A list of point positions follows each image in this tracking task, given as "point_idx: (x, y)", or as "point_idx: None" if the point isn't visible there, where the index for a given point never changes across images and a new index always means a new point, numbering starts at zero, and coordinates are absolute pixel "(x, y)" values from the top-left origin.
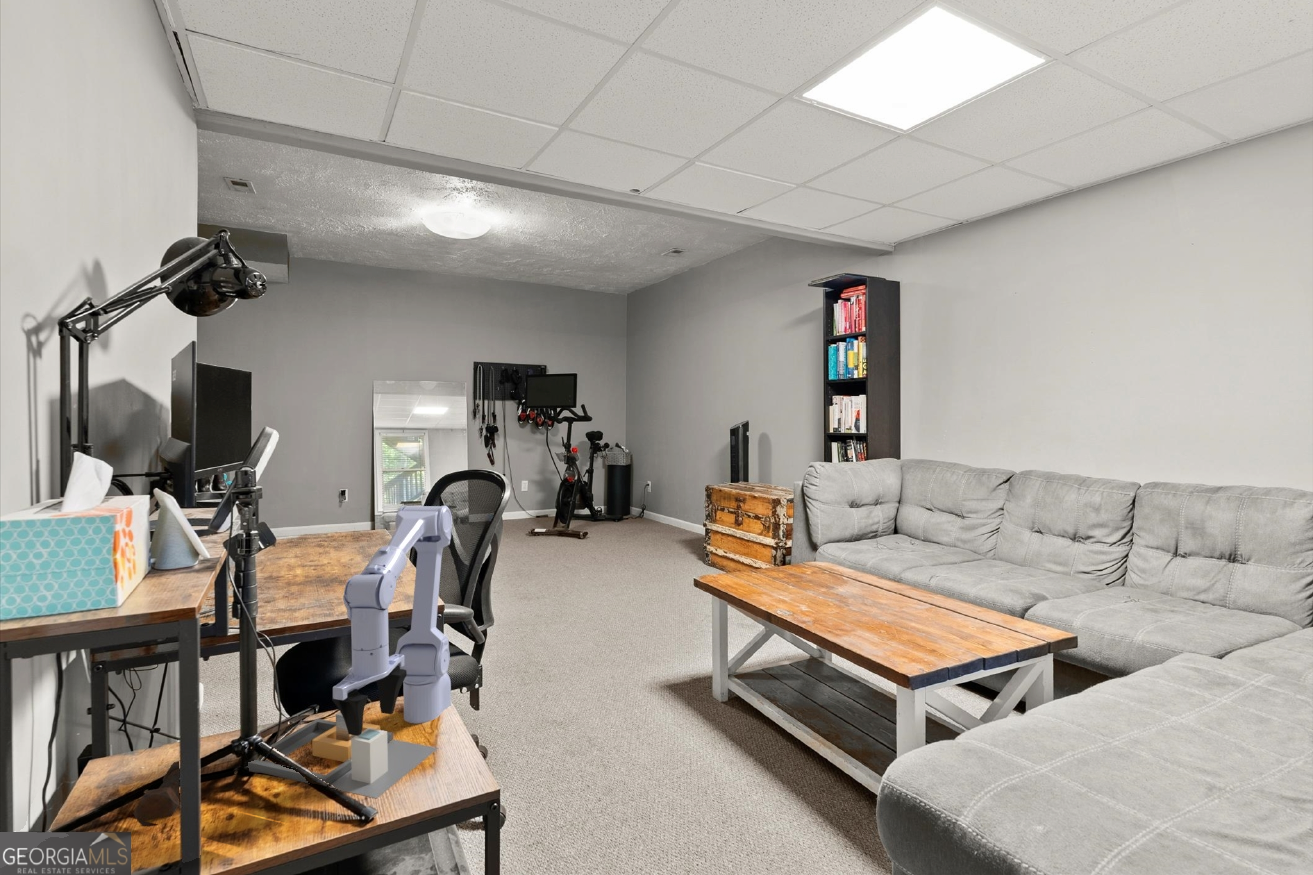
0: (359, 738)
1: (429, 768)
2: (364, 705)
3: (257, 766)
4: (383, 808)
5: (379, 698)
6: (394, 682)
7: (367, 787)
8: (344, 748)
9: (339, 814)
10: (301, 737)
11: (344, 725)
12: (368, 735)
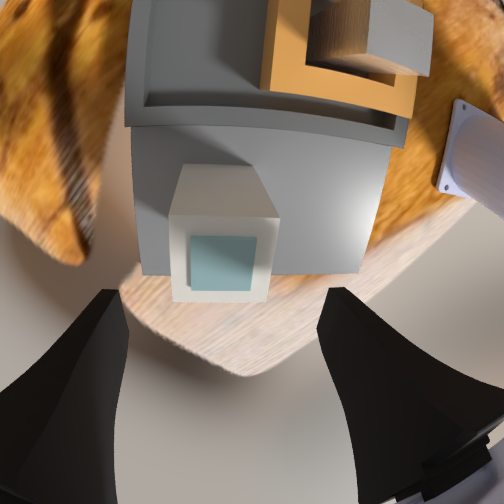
0: (184, 246)
1: (298, 278)
2: (110, 470)
3: None
4: (144, 282)
5: (365, 326)
6: (362, 470)
7: (167, 228)
8: (270, 74)
9: (91, 215)
10: None
11: (347, 33)
12: (209, 271)
